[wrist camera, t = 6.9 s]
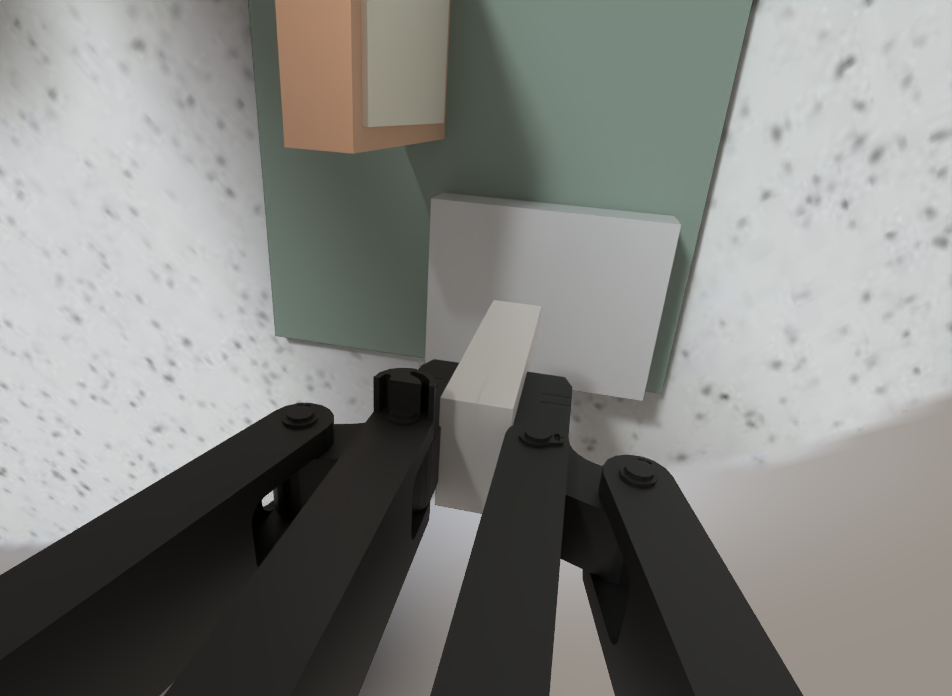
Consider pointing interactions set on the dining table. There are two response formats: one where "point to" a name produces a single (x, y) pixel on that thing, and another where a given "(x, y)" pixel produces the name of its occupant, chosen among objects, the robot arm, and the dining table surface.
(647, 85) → the mat
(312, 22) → the terracotta tile
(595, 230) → the white flat block
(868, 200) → the dining table surface
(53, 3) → the dining table surface
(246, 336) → the dining table surface
